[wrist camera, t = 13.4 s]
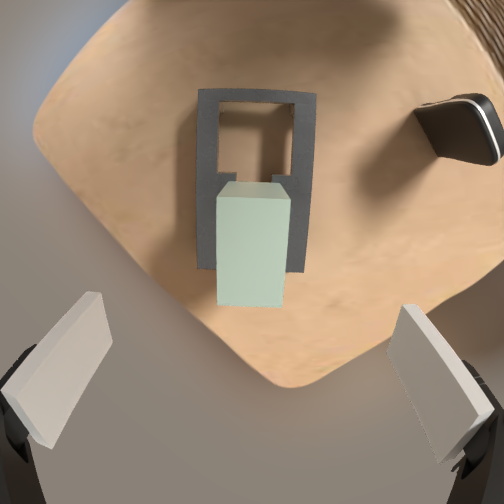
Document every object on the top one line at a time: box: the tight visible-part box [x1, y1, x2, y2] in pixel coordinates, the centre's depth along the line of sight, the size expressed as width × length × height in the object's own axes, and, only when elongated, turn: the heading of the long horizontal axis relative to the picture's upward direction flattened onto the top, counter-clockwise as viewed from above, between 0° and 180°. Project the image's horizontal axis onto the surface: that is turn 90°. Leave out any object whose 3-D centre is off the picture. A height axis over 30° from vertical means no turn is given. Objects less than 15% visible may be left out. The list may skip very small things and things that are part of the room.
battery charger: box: [414, 93, 504, 166], centre depth 23 cm, size 7×4×11 cm, turn 38°
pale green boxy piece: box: [216, 181, 291, 308], centre depth 26 cm, size 8×6×12 cm
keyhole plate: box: [196, 89, 316, 273], centre depth 29 cm, size 18×11×4 cm, turn 178°
